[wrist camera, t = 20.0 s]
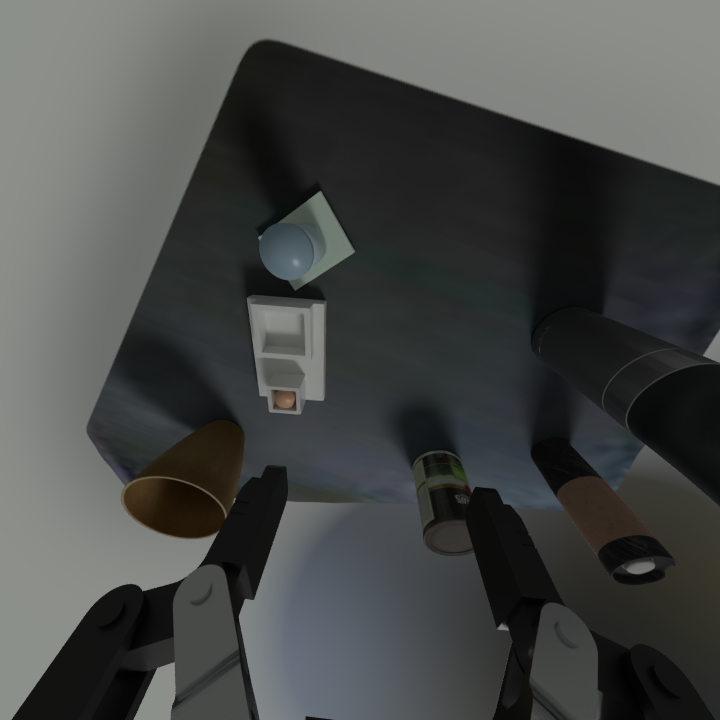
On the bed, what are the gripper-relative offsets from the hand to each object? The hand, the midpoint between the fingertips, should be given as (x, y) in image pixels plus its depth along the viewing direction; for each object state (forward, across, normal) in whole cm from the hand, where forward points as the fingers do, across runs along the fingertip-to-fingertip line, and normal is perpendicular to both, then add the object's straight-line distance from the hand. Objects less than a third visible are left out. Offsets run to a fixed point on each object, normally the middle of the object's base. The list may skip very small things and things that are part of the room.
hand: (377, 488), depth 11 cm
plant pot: (+31, +27, +29) cm, 50 cm away
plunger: (+28, +13, +15) cm, 35 cm away
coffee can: (+32, -16, +34) cm, 49 cm away
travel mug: (+32, -37, +27) cm, 56 cm away
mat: (+31, +10, -7) cm, 33 cm away
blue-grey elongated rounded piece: (+30, +10, -7) cm, 32 cm away
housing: (+31, +13, +9) cm, 35 cm away
